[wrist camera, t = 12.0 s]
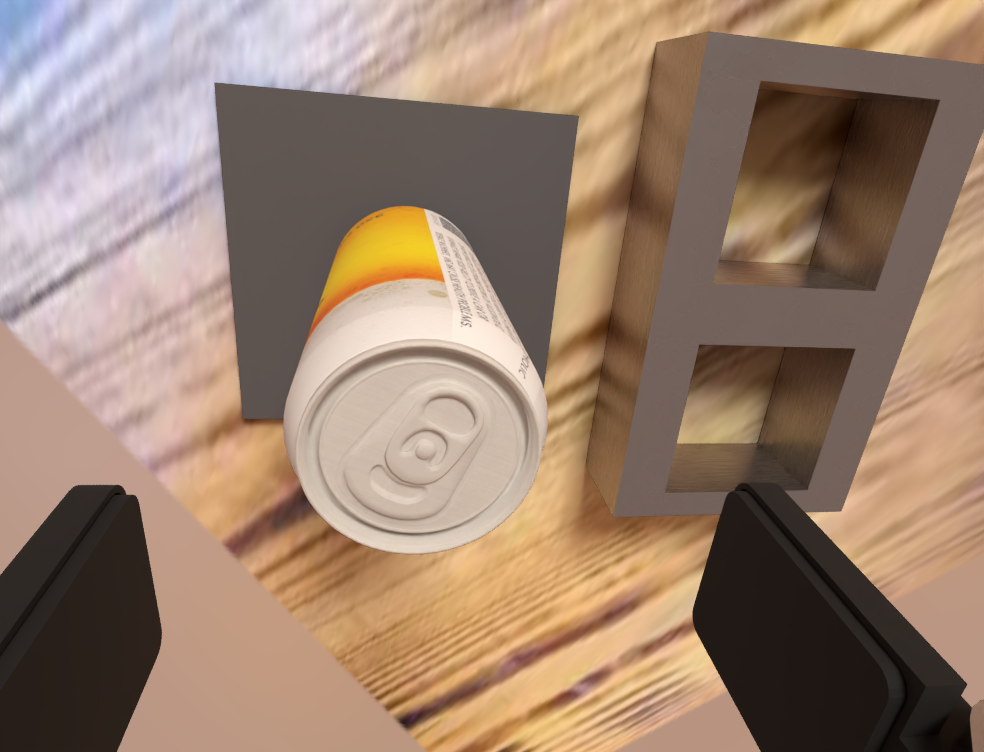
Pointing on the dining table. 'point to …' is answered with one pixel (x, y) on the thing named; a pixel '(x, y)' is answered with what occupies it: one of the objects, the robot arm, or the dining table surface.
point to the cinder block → (773, 268)
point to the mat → (379, 207)
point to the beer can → (413, 392)
